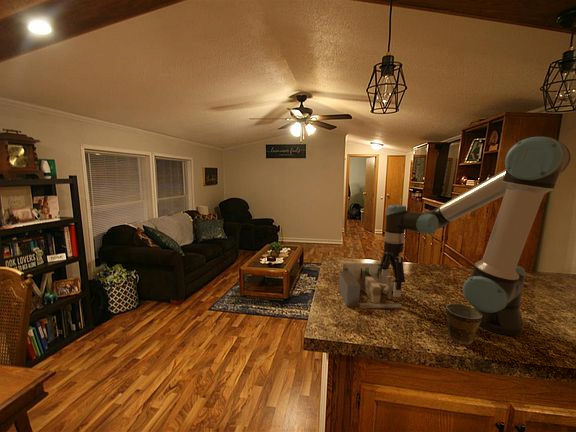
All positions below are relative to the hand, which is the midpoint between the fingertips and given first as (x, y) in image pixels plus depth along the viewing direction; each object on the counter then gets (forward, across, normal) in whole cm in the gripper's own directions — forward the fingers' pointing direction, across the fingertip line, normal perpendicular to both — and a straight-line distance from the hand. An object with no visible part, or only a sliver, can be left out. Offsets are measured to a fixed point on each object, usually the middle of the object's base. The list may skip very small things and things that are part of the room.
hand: (390, 289), depth 118 cm
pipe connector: (+4, 0, 0) cm, 4 cm away
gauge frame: (+4, +1, +10) cm, 10 cm away
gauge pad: (+3, +2, +8) cm, 9 cm away
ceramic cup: (+4, -28, -11) cm, 30 cm away
